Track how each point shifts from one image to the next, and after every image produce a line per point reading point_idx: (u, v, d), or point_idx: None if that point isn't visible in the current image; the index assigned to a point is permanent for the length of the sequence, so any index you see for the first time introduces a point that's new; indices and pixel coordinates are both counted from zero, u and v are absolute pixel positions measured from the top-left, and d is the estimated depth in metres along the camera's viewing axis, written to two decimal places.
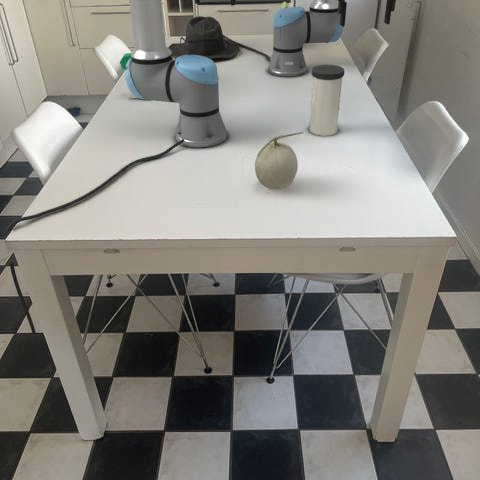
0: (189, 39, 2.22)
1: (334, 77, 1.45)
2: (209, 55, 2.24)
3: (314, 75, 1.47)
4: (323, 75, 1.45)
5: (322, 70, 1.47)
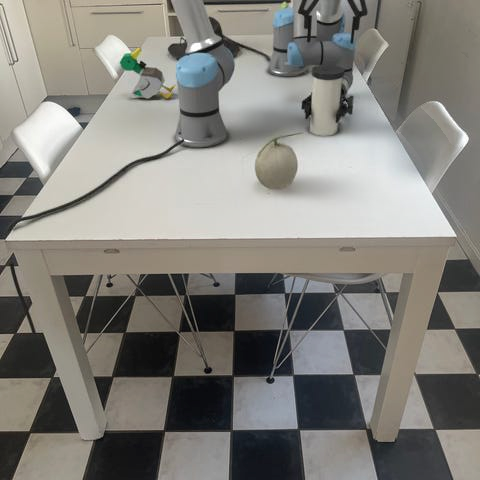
0: None
1: (334, 77, 1.45)
2: None
3: (314, 75, 1.47)
4: (323, 75, 1.45)
5: (322, 70, 1.47)
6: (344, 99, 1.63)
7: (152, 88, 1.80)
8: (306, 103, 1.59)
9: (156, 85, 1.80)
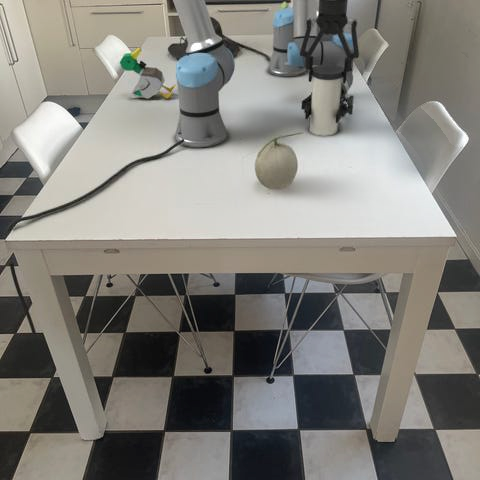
0: None
1: (334, 77, 1.45)
2: None
3: (314, 75, 1.47)
4: (323, 75, 1.45)
5: (322, 70, 1.47)
6: (344, 99, 1.63)
7: (152, 88, 1.80)
8: (306, 103, 1.59)
9: (156, 85, 1.80)
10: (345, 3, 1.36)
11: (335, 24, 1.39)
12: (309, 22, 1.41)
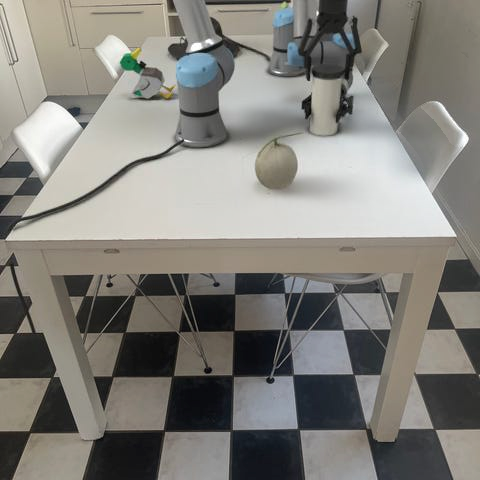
0: None
1: None
2: None
3: (339, 75, 1.45)
4: None
5: (333, 69, 1.46)
6: (344, 99, 1.63)
7: (152, 88, 1.80)
8: (306, 103, 1.59)
9: (156, 85, 1.80)
10: (347, 1, 1.36)
11: (337, 23, 1.39)
12: (311, 21, 1.39)
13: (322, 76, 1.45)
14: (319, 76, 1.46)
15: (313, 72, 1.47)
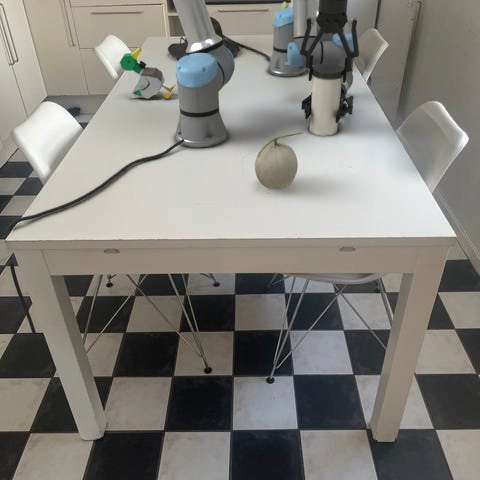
0: None
1: None
2: None
3: (339, 75, 1.45)
4: None
5: (333, 69, 1.46)
6: (344, 99, 1.63)
7: (152, 88, 1.80)
8: (306, 103, 1.59)
9: (156, 85, 1.80)
10: (345, 2, 1.35)
11: (335, 23, 1.39)
12: (309, 21, 1.40)
13: (322, 76, 1.45)
14: (319, 76, 1.46)
15: (313, 72, 1.47)
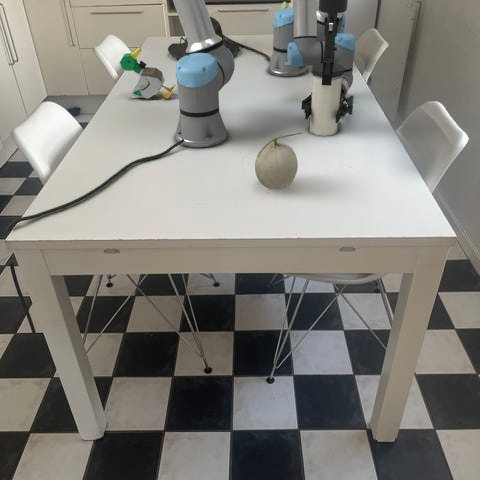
0: None
1: None
2: None
3: None
4: None
5: None
6: (344, 99, 1.63)
7: (152, 88, 1.80)
8: (306, 103, 1.59)
9: (156, 85, 1.80)
10: None
11: None
12: None
13: (343, 72, 1.47)
14: (342, 74, 1.46)
15: (335, 74, 1.44)
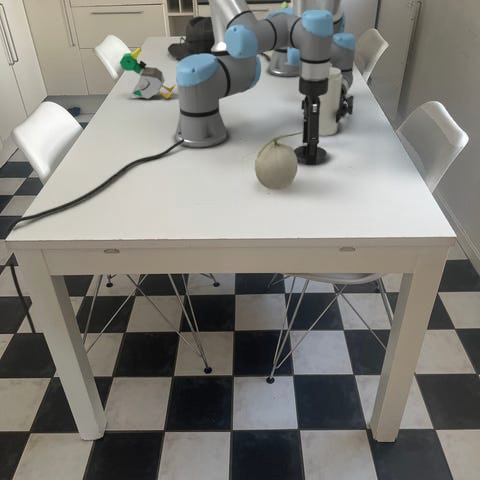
0: (189, 39, 2.22)
1: None
2: None
3: None
4: None
5: None
6: (344, 99, 1.63)
7: (152, 88, 1.80)
8: None
9: (156, 85, 1.80)
10: None
11: None
12: None
13: (326, 157, 1.42)
14: (325, 159, 1.41)
15: (319, 161, 1.40)
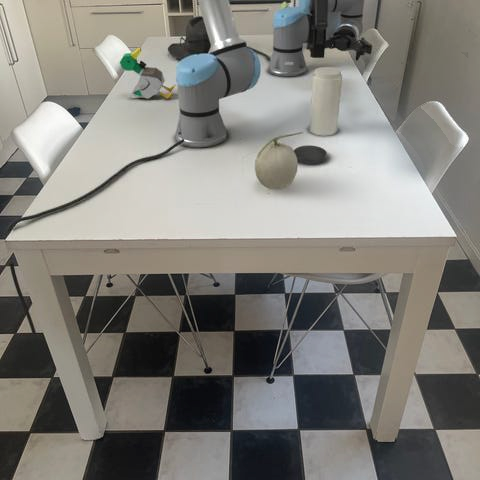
0: (189, 39, 2.22)
1: None
2: None
3: None
4: None
5: (313, 149, 1.44)
6: None
7: (152, 88, 1.80)
8: (312, 43, 1.62)
9: (156, 85, 1.80)
10: None
11: None
12: None
13: (326, 157, 1.42)
14: (325, 159, 1.41)
15: (319, 161, 1.40)
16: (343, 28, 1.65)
